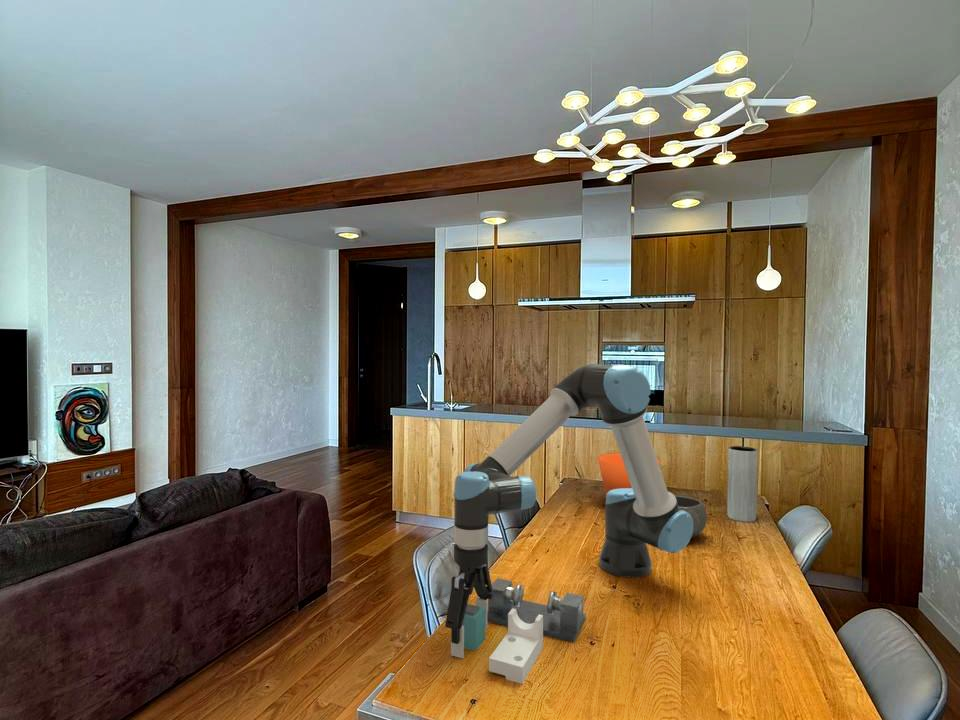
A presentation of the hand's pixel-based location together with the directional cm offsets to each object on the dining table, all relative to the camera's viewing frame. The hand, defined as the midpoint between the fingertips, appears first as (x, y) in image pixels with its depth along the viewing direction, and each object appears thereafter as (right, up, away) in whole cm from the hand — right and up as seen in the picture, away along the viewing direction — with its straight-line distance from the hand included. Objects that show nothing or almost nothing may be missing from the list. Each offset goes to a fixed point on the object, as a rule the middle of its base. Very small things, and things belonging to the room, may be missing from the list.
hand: (469, 641), depth 113 cm
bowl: (+72, +1, +65) cm, 97 cm away
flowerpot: (+64, +1, +99) cm, 117 cm away
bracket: (+10, -1, -7) cm, 12 cm away
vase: (+103, +1, +85) cm, 134 cm away
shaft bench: (+15, 0, +10) cm, 18 cm away
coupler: (0, 0, 0) cm, 0 cm away
